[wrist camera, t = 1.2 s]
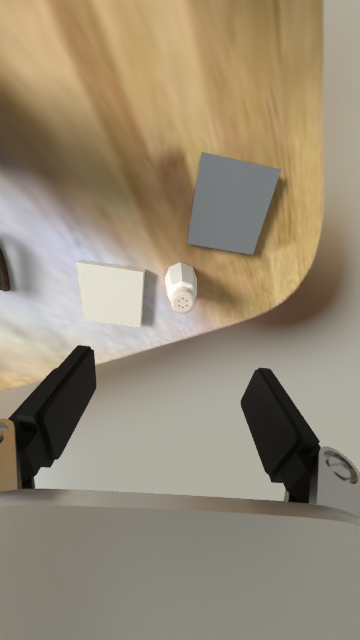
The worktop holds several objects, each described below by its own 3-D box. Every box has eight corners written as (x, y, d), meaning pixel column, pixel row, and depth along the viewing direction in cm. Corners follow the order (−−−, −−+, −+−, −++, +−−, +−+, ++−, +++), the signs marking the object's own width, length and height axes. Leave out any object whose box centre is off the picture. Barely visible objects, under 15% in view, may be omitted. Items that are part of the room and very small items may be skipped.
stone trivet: (82, 259, 28) (76, 262, 26) (145, 269, 29) (143, 272, 27) (88, 315, 32) (83, 320, 31) (142, 321, 33) (140, 327, 31)
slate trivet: (199, 158, 22) (201, 152, 20) (273, 173, 23) (281, 169, 21) (186, 242, 27) (187, 243, 25) (248, 253, 28) (252, 254, 26)
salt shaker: (163, 262, 28) (157, 280, 18) (197, 261, 28) (208, 279, 18) (165, 293, 31) (160, 324, 21) (196, 293, 31) (205, 323, 21)
